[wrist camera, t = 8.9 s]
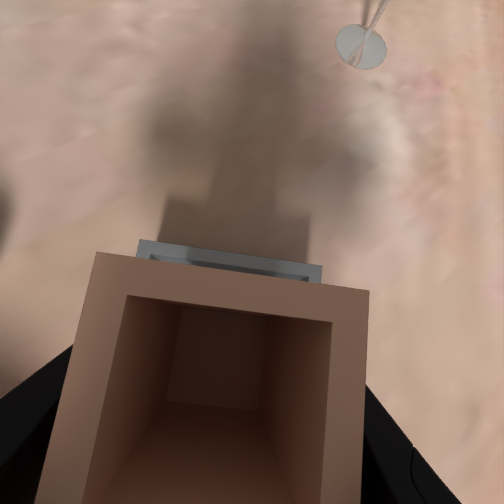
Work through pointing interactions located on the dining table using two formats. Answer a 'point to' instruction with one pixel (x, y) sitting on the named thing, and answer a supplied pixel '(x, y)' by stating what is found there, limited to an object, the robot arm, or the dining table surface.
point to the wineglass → (363, 43)
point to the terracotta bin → (210, 390)
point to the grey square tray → (229, 261)
